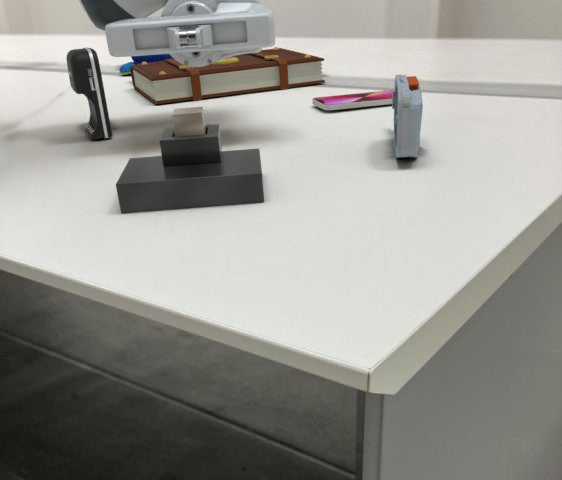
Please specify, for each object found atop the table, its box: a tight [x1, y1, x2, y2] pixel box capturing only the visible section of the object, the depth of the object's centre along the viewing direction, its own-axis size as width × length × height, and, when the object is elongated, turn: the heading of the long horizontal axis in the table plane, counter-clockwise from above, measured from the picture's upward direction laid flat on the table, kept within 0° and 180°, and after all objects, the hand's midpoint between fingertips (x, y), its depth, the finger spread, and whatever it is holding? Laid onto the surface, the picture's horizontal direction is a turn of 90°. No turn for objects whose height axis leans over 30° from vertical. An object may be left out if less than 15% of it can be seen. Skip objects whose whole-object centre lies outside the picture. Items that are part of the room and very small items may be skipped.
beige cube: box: [171, 106, 206, 137], centre depth 70 cm, size 3×3×3 cm
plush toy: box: [119, 54, 175, 75], centre depth 153 cm, size 17×17×8 cm
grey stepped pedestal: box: [115, 123, 265, 214], centre depth 70 cm, size 14×11×6 cm
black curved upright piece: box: [65, 46, 113, 140], centre depth 95 cm, size 7×4×11 cm, turn 22°
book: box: [130, 46, 326, 105], centre depth 128 cm, size 23×32×5 cm
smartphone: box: [312, 89, 395, 111], centre depth 106 cm, size 7×1×15 cm
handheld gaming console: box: [391, 74, 424, 160], centre depth 77 cm, size 14×3×8 cm, turn 174°
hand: (187, 39), depth 77 cm, fingers closed
